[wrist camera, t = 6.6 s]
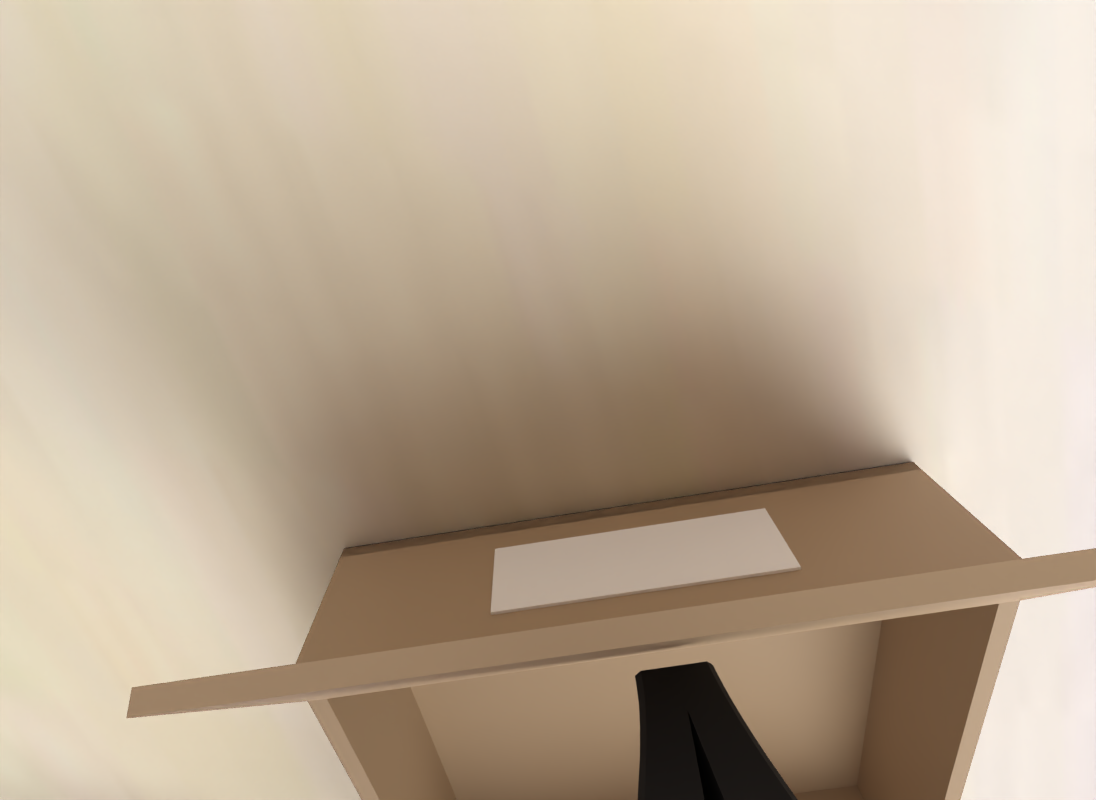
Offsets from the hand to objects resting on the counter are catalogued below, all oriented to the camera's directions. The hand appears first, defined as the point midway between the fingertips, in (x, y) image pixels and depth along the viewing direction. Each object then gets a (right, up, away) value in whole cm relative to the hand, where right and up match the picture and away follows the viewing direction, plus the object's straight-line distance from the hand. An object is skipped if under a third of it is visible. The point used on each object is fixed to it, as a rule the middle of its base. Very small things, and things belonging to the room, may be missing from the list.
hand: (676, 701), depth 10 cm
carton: (+1, -5, +11) cm, 12 cm away
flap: (0, +1, 0) cm, 1 cm away
